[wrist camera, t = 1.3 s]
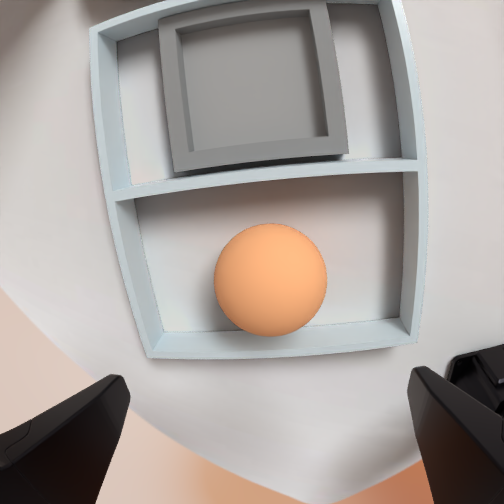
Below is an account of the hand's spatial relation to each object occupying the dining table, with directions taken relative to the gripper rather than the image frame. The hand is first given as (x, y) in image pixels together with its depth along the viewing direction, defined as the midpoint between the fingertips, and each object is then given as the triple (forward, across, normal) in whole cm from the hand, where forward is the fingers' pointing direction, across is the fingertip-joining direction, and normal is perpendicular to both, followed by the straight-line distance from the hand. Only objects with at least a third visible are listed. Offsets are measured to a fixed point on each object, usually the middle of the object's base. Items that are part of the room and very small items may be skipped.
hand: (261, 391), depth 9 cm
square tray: (+12, 0, -11) cm, 16 cm away
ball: (+12, 0, 0) cm, 12 cm away
